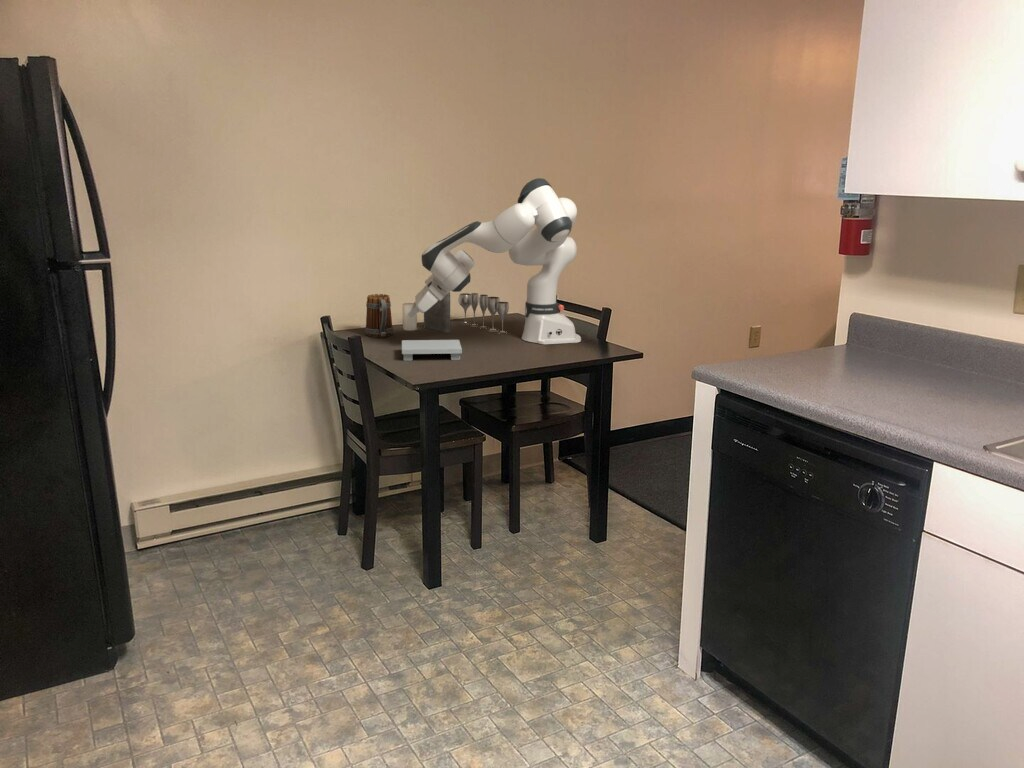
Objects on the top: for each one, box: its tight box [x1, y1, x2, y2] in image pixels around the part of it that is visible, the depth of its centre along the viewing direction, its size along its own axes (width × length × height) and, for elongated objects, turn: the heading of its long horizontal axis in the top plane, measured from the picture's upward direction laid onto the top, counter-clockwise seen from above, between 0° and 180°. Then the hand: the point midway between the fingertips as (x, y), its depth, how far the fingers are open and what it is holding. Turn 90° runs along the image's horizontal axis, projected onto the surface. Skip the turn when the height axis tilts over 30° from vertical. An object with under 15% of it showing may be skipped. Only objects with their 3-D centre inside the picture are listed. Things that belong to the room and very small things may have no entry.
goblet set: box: [458, 292, 510, 332], centre depth 323 cm, size 28×6×13 cm, turn 43°
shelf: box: [401, 339, 463, 362], centre depth 277 cm, size 20×14×4 cm
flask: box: [423, 291, 451, 334], centre depth 316 cm, size 4×14×18 cm, turn 46°
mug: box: [364, 293, 394, 338], centre depth 304 cm, size 16×11×15 cm
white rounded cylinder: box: [402, 302, 418, 331], centre depth 290 cm, size 5×5×9 cm
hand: (409, 314), depth 290 cm, fingers closed on white rounded cylinder, 5 cm apart
